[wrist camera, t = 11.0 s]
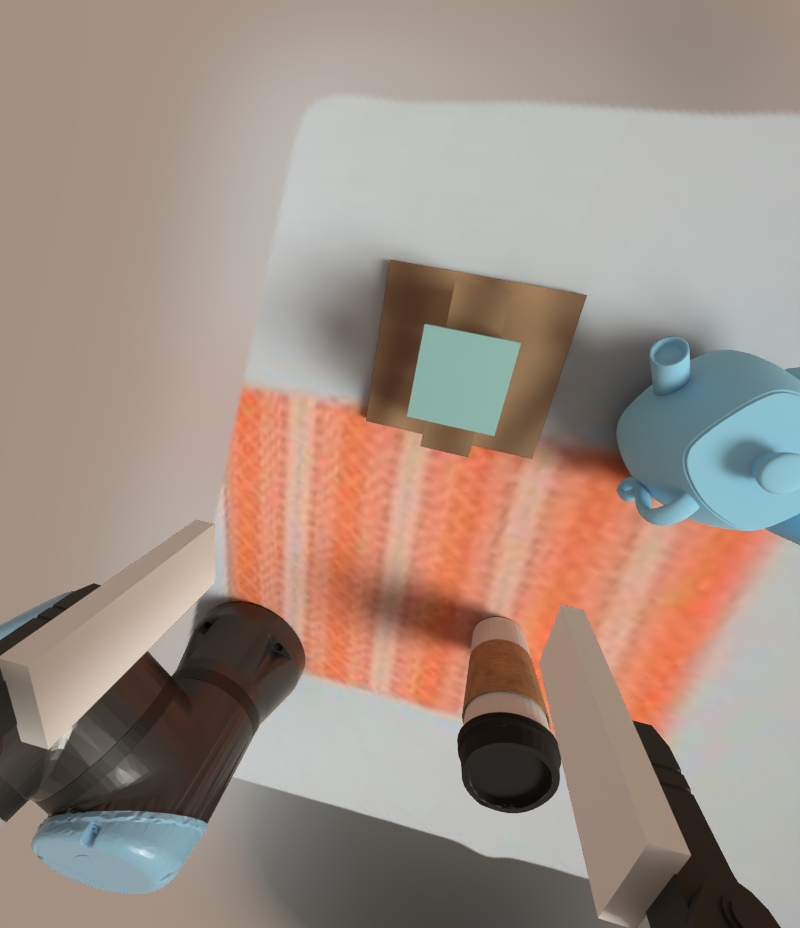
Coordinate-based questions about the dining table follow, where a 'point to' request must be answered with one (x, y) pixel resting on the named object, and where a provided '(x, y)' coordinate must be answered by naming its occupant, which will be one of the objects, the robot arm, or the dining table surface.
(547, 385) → the bracket
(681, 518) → the teapot
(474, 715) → the coffee cup
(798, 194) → the dining table surface
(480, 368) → the peg
